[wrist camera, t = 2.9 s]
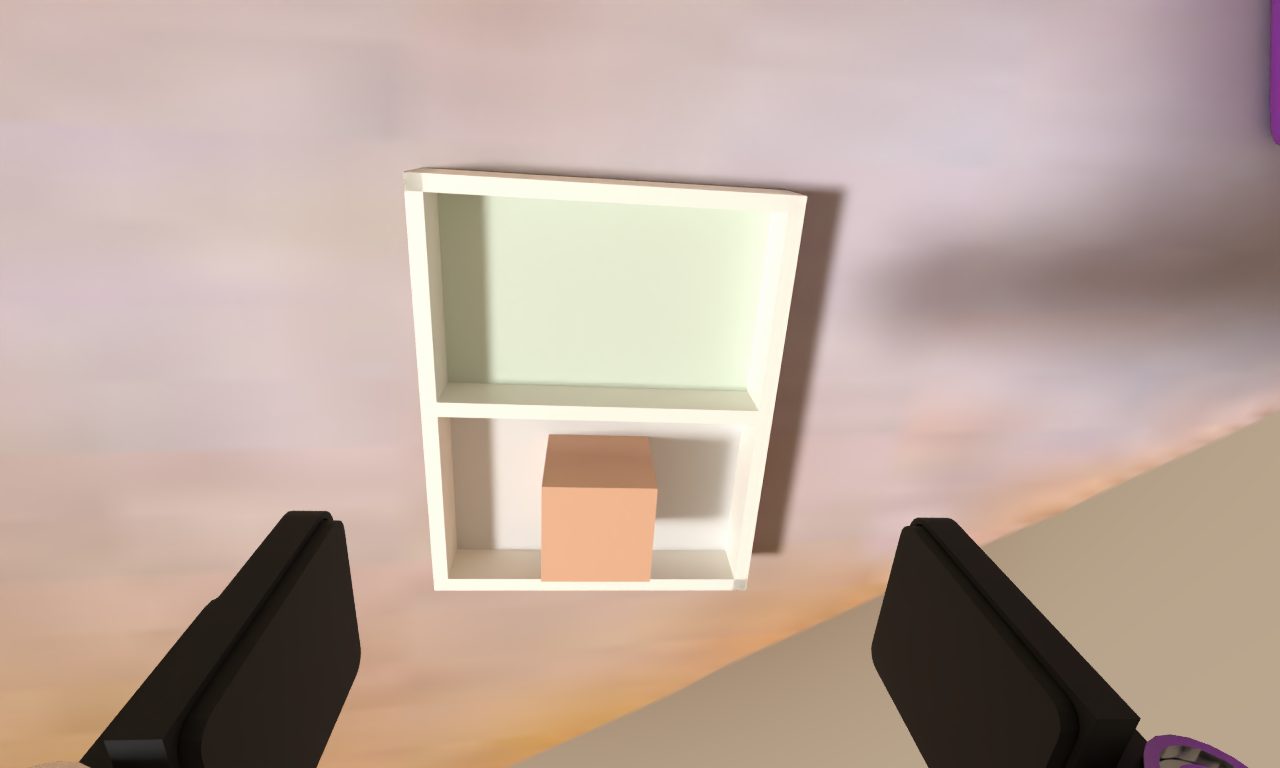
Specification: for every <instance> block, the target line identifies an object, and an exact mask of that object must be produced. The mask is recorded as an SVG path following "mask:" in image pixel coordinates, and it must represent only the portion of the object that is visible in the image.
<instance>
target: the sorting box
mask: <svg viewBox="0 0 1280 768" xmlns="http://www.w3.org/2000/svg"><path fill="white" fill-rule="evenodd" d="M403 181H404V194H405V207H406V220H407V234H408V247H409V260H410V273H411V287H412V300H413V313H414V326H415V340H416V353H417V366H418V379H419V393H420V406H421V419H422V432H423V446H424V459H425V472H426V485H427V499H428V512H429V525H430V538H431V552H432V565H433V578H434V590H746V585H747V578H748V572H749V566H750V559H751V553H752V547H753V540H754V534H755V527H756V521H757V515H758V508H759V502H760V496H761V489H762V483H763V476H764V470H765V464H766V457H767V451H768V445H769V438H770V432H771V425H772V419H773V413H774V406H775V400H776V394H777V387H778V381H779V374H780V368H781V362H782V355H783V349H784V343H785V336H786V330H787V324H788V317H789V311H790V304H791V298H792V292H793V285H794V279H795V273H796V266H797V260H798V253H799V247H800V241H801V234H802V228H803V222H804V215H805V209H806V202H807V196H805V195H802V194H798V193H795V192H792V191H788V190H780V189H763V188H747V187H730V186H714V185H698V184H681V183H665V182H648V181H632V180H616V179H599V178H583V177H566V176H550V175H534V174H517V173H501V172H484V171H468V170H452V169H435V168H419V169H414V170H409V171H404V172H403ZM549 434H557V435H602V436H646V437H648V440H649V445H650V450H651V455H652V461H653V466H654V471H655V476H656V482H657V487H658V493H657V505H656V516H655V528H654V540H653V552H652V563H651V575H650V582H541V496H542V480H543V473H544V465H545V458H546V451H547V444H548V436H549Z"/></svg>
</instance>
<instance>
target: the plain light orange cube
mask: <svg viewBox="0 0 1280 768" xmlns="http://www.w3.org/2000/svg"><path fill="white" fill-rule="evenodd" d="M657 493H658V487H657V482H656V476H655V471H654V466H653V461H652V455H651V450H650V445H649V440H648V437H646V436H602V435H557V434H549V436H548V444H547V451H546V458H545V465H544V473H543V480H542V496H541V582H650V575H651V563H652V552H653V540H654V528H655V516H656V505H657Z"/></svg>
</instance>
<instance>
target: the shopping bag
mask: <svg viewBox="0 0 1280 768" xmlns="http://www.w3.org/2000/svg"><path fill="white" fill-rule="evenodd" d="M1270 121H1271V132H1272V136H1273V139H1274V141H1275V143H1276V144H1278V145H1279V146H1280V0H1271V49H1270Z"/></svg>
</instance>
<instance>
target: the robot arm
mask: <svg viewBox="0 0 1280 768" xmlns="http://www.w3.org/2000/svg"><path fill="white" fill-rule="evenodd" d="M871 649H872V650H871V651H872V659H873V663H874V666H875V668H876V670H877V672H878V674H879V676H880V678H881V679H882V681H883V683H884V685H885V687H886V689H887V691H888V692H889V694H890V696H891V698H892V700H893V702H894V704H895V705H896V707H897V709H898V711H899V713H900V715H901V717H902V719H903V721H904V723H905V724H906V726H907V728H908V730H909V732H910V734H911V736H912V737H913V739H914V741H915V743H916V745H917V747H918V749H919V751H920V753H921V754H922V756H923V758H924V760H925V762H926V764H927V766H928V767H929V768H1248V767H1247V766H1245V765H1244V764H1242V763H1241V762H1239V761H1238V760H1236V759H1235V758H1233V757H1232V756H1230V755H1228V754H1226V753H1224V752H1222V751H1220V750H1218V749H1216V748H1214V747H1212V746H1210V745H1208V744H1205V743H1202V742H1199V741H1197V740H1193V739H1191V738H1188V737H1182V736H1176V735H1162V736H1155V737H1154V738H1152V739H1151V740H1149V741H1148V742H1147V741H1146V740H1145V739H1144V738H1143V737H1142V736H1141V734H1140V733H1139V732H1138V731H1137V730H1136V727H1137V725H1138V722H1139V721H1140V717H1139V716H1138V715H1137V714H1136V713H1135V712H1134V711H1133V710H1132V709H1131V708H1130V707H1129V706H1128V705H1127V703H1126V702H1125V701H1123V699H1121V697H1120V696H1119V695H1118V694H1117V693H1116V692H1115V691H1114V690H1113V689H1112V688H1111V687H1110V685H1108V683H1107V682H1106V681H1105V680H1104V679H1103V678H1102V677H1101V676H1100V675H1099V674H1098V673H1097V672H1096V671H1095V670H1094V668H1093V667H1091V665H1090V664H1089V663H1088V662H1087V661H1086V660H1085V659H1084V658H1083V657H1082V656H1081V655H1080V654H1079V652H1078V651H1077V650H1076V649H1075V648H1074V647H1073V646H1072V645H1071V644H1070V643H1069V642H1068V641H1067V640H1066V639H1065V638H1064V637H1063V636H1062V635H1061V633H1060V632H1059V631H1058V630H1057V629H1056V628H1055V627H1054V626H1053V625H1052V624H1051V623H1050V622H1049V621H1048V620H1047V618H1045V616H1044V615H1043V614H1042V613H1041V612H1040V611H1039V610H1038V609H1037V608H1036V607H1035V606H1034V605H1033V604H1032V603H1031V601H1030V600H1029V599H1028V598H1027V597H1026V596H1025V595H1024V594H1023V593H1022V592H1021V591H1020V590H1019V589H1018V588H1017V587H1016V585H1015V584H1014V583H1013V582H1012V581H1011V580H1010V579H1009V578H1008V577H1007V576H1006V575H1005V574H1004V573H1003V572H1002V571H1001V570H1000V569H999V567H998V566H997V565H996V564H995V563H994V562H993V561H992V560H991V559H990V558H989V557H988V556H987V555H986V554H985V552H984V551H983V550H982V549H981V548H980V547H979V546H978V545H977V544H976V543H975V542H974V541H973V540H972V539H971V538H970V537H969V535H968V534H967V533H966V532H965V531H964V530H963V529H962V528H961V527H960V526H959V525H958V524H957V523H956V522H955V521H954V520H952V519H950V518H916V519H914V520H913V521H912V522H911V524H910V526H906V527H904V528H903V530H902V532H901V535H900V539H899V542H898V546H897V550H896V554H895V558H894V561H893V565H892V569H891V573H890V577H889V581H888V584H887V588H886V592H885V596H884V600H883V604H882V607H881V611H880V615H879V619H878V623H877V627H876V630H875V634H874V638H873V642H872V648H871ZM360 657H361V647H360V640H359V633H358V625H357V618H356V611H355V603H354V596H353V589H352V581H351V574H350V567H349V559H348V552H347V545H346V537H345V530H344V525H343V523H342V522H341V521H335V520H333V518H332V516H331V514H330V513H329V512H327V511H289V512H287V513H286V514H285V515H284V516H283V517H282V519H281V520H280V521H279V522H278V524H277V525H276V526H275V527H274V529H273V530H272V531H271V532H270V534H269V535H268V536H267V537H266V539H265V540H264V541H263V542H262V544H261V545H260V546H259V547H258V549H257V550H256V551H255V552H254V554H253V555H252V556H251V557H250V558H249V560H248V561H247V562H246V563H245V565H244V566H243V567H242V568H241V570H240V571H239V572H238V573H237V575H236V576H235V577H234V578H233V580H232V581H231V582H230V583H229V585H228V586H227V587H226V588H225V590H224V591H223V592H222V593H221V595H220V596H219V597H218V598H216V599H214V600H212V601H211V602H210V603H209V604H208V605H207V606H206V607H205V608H204V609H203V610H202V611H201V613H200V614H199V615H198V616H197V617H196V619H195V620H194V621H193V622H192V624H191V625H190V626H189V627H188V629H187V630H186V631H185V632H184V633H183V635H182V636H181V637H180V638H179V640H178V641H177V642H176V643H175V644H174V646H173V647H172V648H171V649H170V651H169V652H168V653H167V654H166V656H165V657H164V658H163V659H162V660H161V662H160V663H159V664H158V665H157V667H156V668H155V669H154V670H153V672H152V673H151V674H150V675H149V676H148V678H147V679H146V680H145V681H144V683H143V684H142V685H141V686H140V688H139V689H138V690H137V691H136V692H135V694H134V695H133V696H132V697H131V699H130V700H129V701H128V702H127V704H126V705H125V706H124V707H123V708H122V710H121V711H120V712H119V713H118V715H117V716H116V717H115V718H114V720H113V721H112V722H111V723H110V724H109V726H108V727H107V728H106V729H105V731H104V732H103V733H102V734H101V735H100V737H99V738H98V739H97V740H96V742H95V743H94V744H93V745H92V747H91V748H90V749H89V750H88V751H87V753H86V754H85V755H84V756H83V758H82V759H81V760H80V761H79V762H63V761H57V762H52V763H47V764H42V765H37V766H32V767H30V768H316V767H317V765H318V763H319V760H320V758H321V756H322V754H323V751H324V749H325V747H326V744H327V742H328V740H329V737H330V735H331V733H332V730H333V728H334V726H335V723H336V721H337V719H338V716H339V714H340V712H341V710H342V707H343V705H344V703H345V700H346V698H347V696H348V693H349V691H350V689H351V686H352V684H353V682H354V679H355V677H356V675H357V672H358V668H359V664H360Z"/></svg>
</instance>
